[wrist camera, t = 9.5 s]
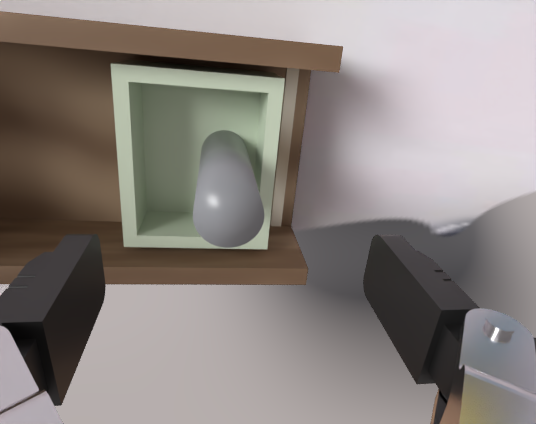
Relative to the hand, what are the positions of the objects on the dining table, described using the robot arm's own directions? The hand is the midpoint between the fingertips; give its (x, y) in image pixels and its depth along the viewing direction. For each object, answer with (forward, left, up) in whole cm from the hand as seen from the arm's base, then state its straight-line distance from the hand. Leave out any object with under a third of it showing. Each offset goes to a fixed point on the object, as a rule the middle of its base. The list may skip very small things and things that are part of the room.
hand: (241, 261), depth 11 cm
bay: (+1, -7, -17) cm, 18 cm away
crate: (+1, -2, -16) cm, 16 cm away
